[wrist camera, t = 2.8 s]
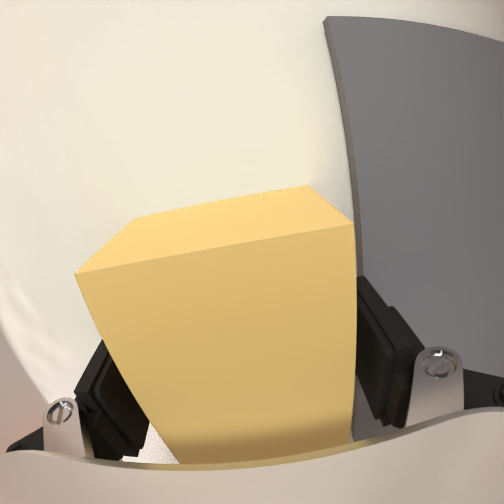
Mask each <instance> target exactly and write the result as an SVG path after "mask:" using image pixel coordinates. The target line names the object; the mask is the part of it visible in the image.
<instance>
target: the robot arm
mask: <svg viewBox="0 0 504 504" xmlns="http://www.w3.org/2000/svg"><path fill="white" fill-rule="evenodd" d="M356 288H357V331H356V363H355V373H356V375H357V378H358V380H359V382H360V385H361V387H362V390H363V392H364V394H365V397H366V399H367V402H368V404H369V407H370V409H371V412H372V414H373V417H374V419H375V420H378V419H380V420H381V423H382V425H383V427H385V426H388V425H391V424H392V426H393V427H396V428H399V430H396V431H392V432H389V433H386V434H383V435H379V436H376V437H372V438H369V439H365V440H361V441H357V442H353V443H350V444H346V445H341V446H337V447H333V448H328V449H324V450H319V451H314V452H309V453H303V454H298V455H291V456H285V457H278V458H271V459H263V460H254V461H244V462H232V463H215V464H151V463H135V462H123V460H122V458H123V455H124V456H131V457H138V454H139V450H140V449H142V448H143V446H144V443H145V439H146V435H147V431H148V427H149V423H150V421H149V419H148V418H147V416H146V415H145V413H144V412H143V410H142V408H141V407H140V405H139V404H138V402H137V400H136V399H135V397H134V395H133V394H132V392H131V390H130V389H129V387H128V385H127V384H126V382H125V380H124V378H123V377H122V375H121V373H120V371H119V369H118V368H117V366H116V364H115V362H114V360H113V358H112V356H111V355H110V353H109V351H108V349H107V347H106V345H105V343H104V341H103V339H102V340H101V342H100V344H99V346H98V347H97V349H96V351H95V353H94V355H93V356H92V358H91V360H90V362H89V364H88V365H87V367H86V369H85V371H84V373H83V375H82V377H81V378H80V380H79V382H78V384H77V386H76V388H75V390H74V393H75V395H76V398H75V400H74V399H71V398H60V399H58V400H56V401H54V402H53V403H51V404H50V405H49V406H48V407H47V409H46V410H45V413H44V416H43V427H41V428H40V429H38V430H36V431H34V432H33V433H31V434H29V435H27V436H25V437H24V438H22V439H21V440H18V441H17V442H15V443H13V444H12V445H10V446H9V447H8V449H7V451H6V453H4V454H1V455H0V504H504V377H499V376H494V375H490V374H485V373H481V372H476V371H472V370H468V369H463V364H462V360H461V358H460V356H459V355H458V353H456V352H455V351H453V350H452V349H449V348H447V347H441V346H435V347H430V348H425V347H424V345H423V344H422V343H421V341H420V340H419V338H418V337H417V336H416V334H415V333H414V332H413V330H412V329H411V328H410V326H409V325H408V324H407V322H406V321H405V320H404V318H403V317H402V316H401V314H400V313H399V312H398V311H397V309H396V308H395V307H394V306H389V307H388V306H387V305H386V303H385V302H384V301H383V299H382V298H381V297H380V295H379V294H378V293H377V291H376V290H375V289H374V287H373V286H372V285H371V284H370V282H369V281H368V280H367V278H366V277H365V276H359V277H356Z"/></svg>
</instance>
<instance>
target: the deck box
mask: <svg viewBox="0 0 504 504" xmlns="http://www.w3.org/2000/svg"><path fill="white" fill-rule="evenodd" d="M74 275H75V278H76V280H77V283H78V285H79V288H80V290H81V293H82V295H83V298H84V300H85V302H86V305H87V307H88V309H89V311H90V314H91V316H92V318H93V320H94V322H95V324H96V326H97V329H98V331H99V333H100V335H101V337H102V339H103V341H104V343H105V345H106V347H107V349H108V351H109V353H110V355H111V356H112V358H113V360H114V362H115V364H116V366H117V368H118V369H119V371H120V373H121V375H122V377H123V378H124V380H125V382H126V384H127V385H128V387H129V389H130V390H131V392H132V394H133V395H134V397H135V399H136V400H137V402H138V404H139V405H140V407H141V408H142V410H143V412H144V413H145V415H146V416H147V418H148V419H149V421H150V422H151V424H152V425H153V427H154V428H155V430H156V431H157V433H158V434H159V436H160V437H161V438H162V440H163V441H164V443H165V444H166V445H167V447H168V448H169V450H170V451H171V452H172V454H173V455H174V456H175V458H176V459H177V460H178V462H179V463H180V464H215V463H232V462H244V461H254V460H263V459H271V458H278V457H285V456H291V455H298V454H303V453H309V452H314V451H319V450H324V449H328V448H333V447H337V446H341V445H346V444H349V440H350V430H351V421H352V410H353V397H354V382H355V363H356V331H357V288H356V255H355V236H354V224H353V223H352V222H351V221H350V220H349V219H348V218H347V217H345V216H344V215H343V214H342V213H341V212H340V211H338V210H337V209H336V208H335V207H334V206H332V205H331V204H330V203H329V202H328V201H326V200H325V199H324V198H323V197H322V196H320V195H319V194H318V193H317V192H315V191H314V190H313V189H312V188H310V187H309V186H308V185H306V186H300V187H293V188H287V189H281V190H275V191H269V192H263V193H257V194H252V195H246V196H241V197H235V198H230V199H225V200H220V201H214V202H209V203H204V204H199V205H194V206H190V207H185V208H180V209H175V210H171V211H166V212H161V213H157V214H153V215H148V216H144V217H139V218H135V219H134V220H132V221H131V222H130V223H129V224H128V225H127V226H125V227H124V228H123V229H122V230H121V231H120V232H119V233H118V234H116V235H115V236H114V237H113V238H112V239H111V240H110V241H109V242H108V243H106V244H105V245H104V246H103V247H102V248H101V249H100V250H99V251H98V252H97V253H96V254H94V255H93V256H92V257H91V258H90V259H89V260H88V261H87V262H86V263H85V264H84V265H83V266H82V267H81V268H80V269H79V270H78V271H77V272H76V273H75V274H74Z"/></svg>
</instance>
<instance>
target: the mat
mask: <svg viewBox="0 0 504 504" xmlns="http://www.w3.org/2000/svg"><path fill="white" fill-rule="evenodd" d="M323 26H324V30H325V34H326V38H327V42H328V46H329V50H330V55H331V59H332V64H333V68H334V73H335V78H336V83H337V88H338V93H339V99H340V104H341V110H342V116H343V122H344V128H345V135H346V142H347V149H348V157H349V165H350V173H351V182H352V192H353V202H354V214H355V227H356V242H357V262H358V277H359V276H365V277H366V278H367V280H368V281H369V282H370V284H371V285H372V286H373V287H374V289H375V290H376V291H377V293H378V294H379V295H380V297H381V298H382V299H383V301H384V302H385V303H386V305H387V306H388V307H389V306H394V307H395V308H396V309H397V311H398V312H399V313H400V314H401V316H402V317H403V318H404V320H405V321H406V322H407V324H408V325H409V326H410V328H411V329H412V330H413V332H414V333H415V334H416V336H417V337H418V338H419V340H420V341H421V343H422V344H423V345H424V347H425V348H430V347H435V346H441V347H447V348H449V349H452V350H453V351H455V352H456V353H458V355H459V356H460V358H461V360H462V364H463V369H468V370H472V371H476V372H481V373H485V374H490V375H494V376H499V377H504V43H502V42H499V41H496V40H493V39H490V38H486V37H483V36H479V35H476V34H472V33H468V32H464V31H460V30H456V29H451V28H446V27H441V26H436V25H431V24H425V23H418V22H411V21H404V20H395V19H385V18H372V17H350V16H327V17H326V19H325V20H324V21H323ZM396 430H399V428H396V427H393V426H392V424H391V425H388V426H385V427H383V425H382V423H381V420H380V419H378V420H375V419H374V417H373V414H372V412H371V409H370V407H369V404H368V402H367V399H366V397H365V394H364V392H363V390H362V387H361V385H360V382H359V380H358V378H357V385H356V400H355V412H354V423H353V433H352V437H353V440H354V442H357V441H361V440H365V439H369V438H372V437H376V436H379V435H383V434H386V433H389V432H392V431H396Z"/></svg>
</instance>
